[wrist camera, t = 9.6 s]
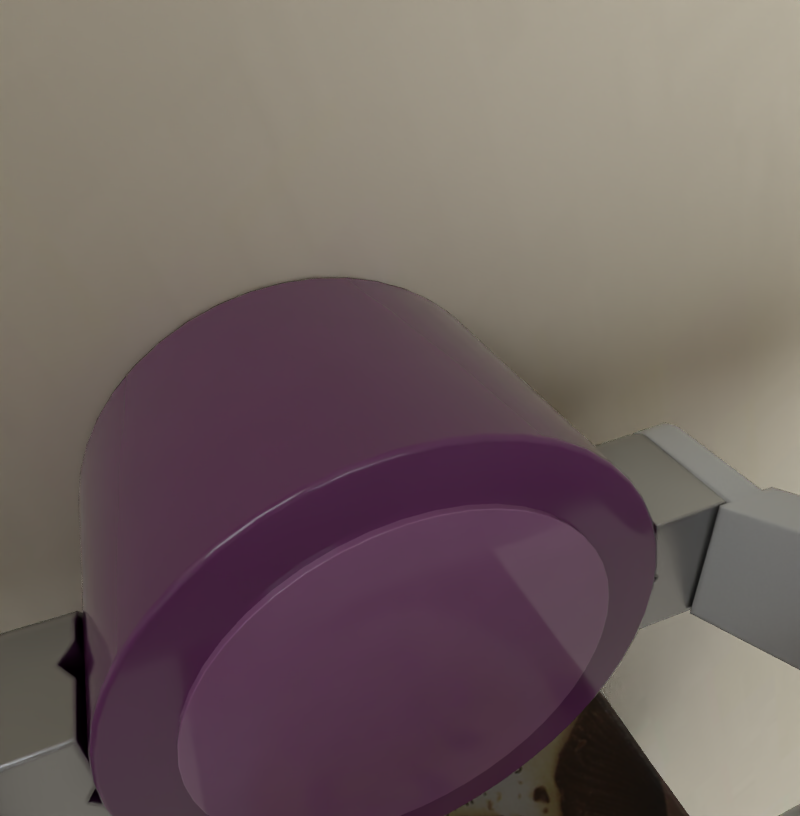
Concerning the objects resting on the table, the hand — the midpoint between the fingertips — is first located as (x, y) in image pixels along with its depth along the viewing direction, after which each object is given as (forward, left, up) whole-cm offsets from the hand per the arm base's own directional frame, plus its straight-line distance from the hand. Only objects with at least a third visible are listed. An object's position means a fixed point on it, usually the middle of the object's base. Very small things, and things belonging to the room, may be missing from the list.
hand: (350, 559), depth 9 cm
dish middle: (0, 0, -2) cm, 2 cm away
